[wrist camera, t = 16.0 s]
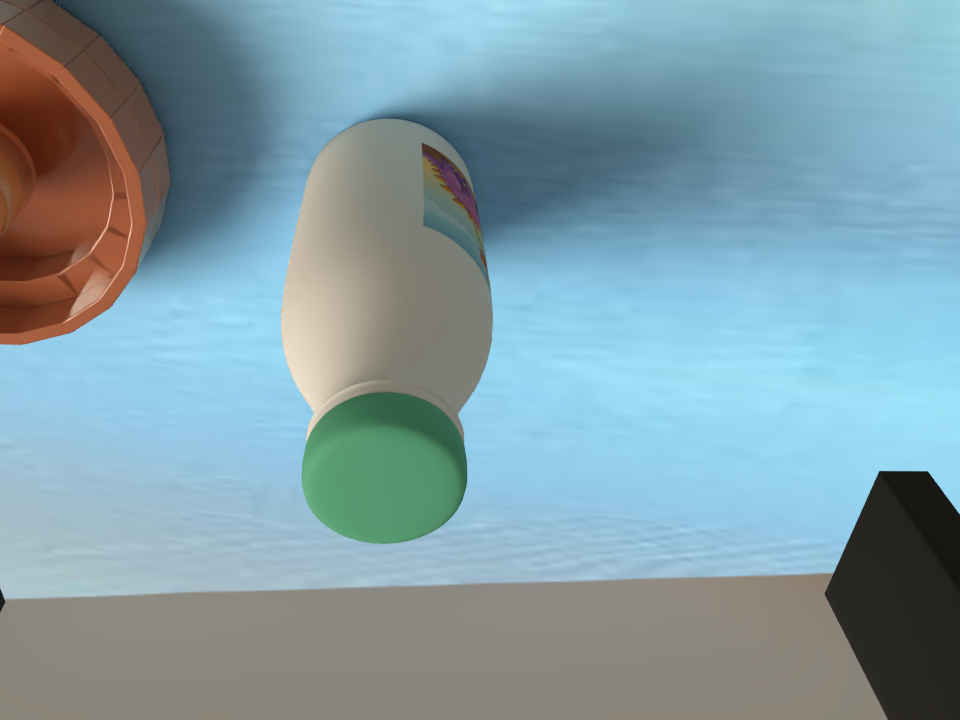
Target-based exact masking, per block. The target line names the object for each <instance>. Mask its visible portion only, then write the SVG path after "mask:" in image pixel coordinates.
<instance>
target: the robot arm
mask: <svg viewBox="0 0 960 720" xmlns="http://www.w3.org/2000/svg"><path fill="white" fill-rule="evenodd" d="M825 596H826V598H827V600H828V602H829V604H830V606H831V608H832V610H833V612H834V613H835V616H836V617H837V620H838V622H839V623H840V625H841V627H842V629H843V631H844V633H845V635H846V637H847V639H848V641H849V643H850V645H851V647H852V649H853V651H854V653H855V655H856V657H857V659H858V661H859V663H860V665H861V667H862V669H863V671H864V673H865V674H866V677H867V679H868V681H869V683H870V685H871V687H872V689H873V691H874V693H875V695H876V697H877V699H878V701H879V702H880V704H881V707H882V709H883V710H884V712H885V714H886V716H887V718H888V720H960V514H959V513H958V512H957V510H956V509H955V508H954V506H953V505H952V503H951V502H950V501H949V499H948V498H947V497H946V495H945V494H944V493H943V491H942V490H941V489H940V487H939V486H938V485H937V483H936V482H935V481H934V479H933V478H932V476H931V475H930V474H929V472H928V471H879V473H878V476H877V478H876V480H875V482H874V484H873V487H872V489H871V491H870V493H869V496H868V498H867V500H866V502H865V505H864V507H863V509H862V511H861V514H860V516H859V518H858V520H857V523H856V525H855V527H854V529H853V532H852V534H851V536H850V538H849V541H848V543H847V545H846V547H845V549H844V552H843V554H842V556H841V558H840V561H839V563H838V565H837V567H836V570H835V572H834V574H833V576H832V579H831V581H830V583H829V585H828V588H827V590H826V592H825ZM4 604H5V600H4V597H3V594H2V592H1V589H0V612H1V610H2V608H3V606H4Z"/></svg>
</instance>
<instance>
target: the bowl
mask: <svg viewBox="0 0 960 720" xmlns="http://www.w3.org/2000/svg"><path fill="white" fill-rule="evenodd" d="M0 122H1V123H2V124H4V125H5V126H7V127H9V128H10V129H12V130H13V131H14V132H15V133H16V134H17V135H18V136H19V137H20V138H21V139H22V141H23V142H24V143H25V145H26V146H27V148H28V150H29V151H30V153H31V155H32V158H33V160H34V163H35V168H36V186H35V190H34V193H33V196H32V198H31V200H30V202H29V203H28V205H27V207H26V208H25V209H24V210H23V211H22V212H21V214H20V215H19V216H18V217H17V218H16V219H15V220H14V222H13V223H12V224H11V225H10V226H9V227H8V229H7V230H6V231H5V232H4V233H3V234H2V236H1V237H0V344H10V345H23V344H28V343H32V342H36V341H40V340H44V339H48V338H52V337H56V336H60V335H64V334H68V333H71V332H74V331H75V330H77V329H78V328H80V327H81V326H83V325H84V324H86V323H88V322H89V321H91V320H92V319H94V318H95V317H97V316H99V315H100V314H102V313H103V312H105V311H106V310H108V309H109V308H110V307H111V306H112V305H113V304H114V303H115V301H116V300H117V298H118V297H119V296H120V294H121V293H122V291H123V290H124V289H125V287H126V286H127V284H128V283H129V282H130V280H131V279H132V277H133V276H134V274H135V273H136V271H137V270H138V268H139V266H140V264H141V262H142V260H143V258H144V256H145V254H146V253H147V251H148V248H149V247H150V245H151V243H152V241H153V239H154V237H155V235H156V234H157V232H158V230H159V228H160V225H161V223H162V219H163V214H164V210H165V206H166V201H167V197H168V193H169V188H170V181H171V180H170V172H169V164H168V156H167V149H166V141H165V135H164V134H163V133H164V132H163V129H162V127H161V125H160V123H159V121H158V119H157V117H156V114H155V112H154V110H153V108H152V106H151V104H150V102H149V99H148V97H147V95H146V93H145V91H144V89H143V87H142V85H141V84H140V81H139V79H138V78H137V77H136V76H135V75H134V74H133V72H132V71H131V70H130V69H129V68H128V67H127V65H126V64H125V63H124V62H123V61H122V59H121V58H120V57H119V56H118V55H117V54H116V52H115V51H114V50H113V49H112V48H111V47H110V45H109V44H108V43H107V42H106V41H105V40H104V38H103V37H102V36H101V35H100V36H99V34H98V33H97V32H95V31H94V30H92V29H91V28H89V27H88V26H87V25H85V24H84V23H82V22H81V21H80V20H78V19H77V18H75V17H74V16H72V15H71V14H70V13H68V12H67V11H65V10H64V9H62V8H61V7H60V6H58V5H57V4H55V3H54V2H53V1H51V0H0Z"/></svg>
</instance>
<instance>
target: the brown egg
mask: <svg viewBox="0 0 960 720" xmlns="http://www.w3.org/2000/svg"><path fill="white" fill-rule="evenodd" d="M35 186H36V168H35V163H34V160H33V158H32V155H31V153H30V151H29V150H28V148H27V146H26V145H25V143H24V142H23V141H22V139H21V138H20V137H19V136H18V135H17V134H16V133H15V132H14V131H13V130H12V129H10V128H9V127H7V126H5V125H4V124H2V123H1V122H0V237H1V236H2V234H3V233H4V232H5V231H6V230H7V229H8V227H9V226H10V225H11V224H12V223H13V222H14V220H15V219H16V218H17V217H18V216H19V215H20V214H21V212H22V211H23V210H24V209H25V208H26V207H27V205H28V203H29V202H30V200H31V198H32V196H33V193H34V190H35Z"/></svg>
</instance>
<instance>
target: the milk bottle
mask: <svg viewBox="0 0 960 720" xmlns="http://www.w3.org/2000/svg"><path fill="white" fill-rule="evenodd" d="M492 326H493V311H492V300H491V290H490V282H489V276H488V270H487V263H486V257H485V251H484V245H483V239H482V233H481V228H480V222H479V216H478V211H477V205H476V200H475V195H474V190H473V186H472V182H471V179H470V175H469V172H468V170H467V167H466V165H465V163H464V161H463V160H462V158H461V157H460V155H459V154H458V152H457V151H456V150H455V149H454V147H453V146H452V145H451V144H450V143H449V142H448V141H446V140H445V139H444V138H443V137H442V136H440V135H439V134H437V133H436V132H434V131H432V130H430V129H429V128H427V127H424V126H422V125H420V124H417V123H414V122H410V121H406V120H400V119H375V120H370V121H366V122H362V123H359V124H356V125H354V126H351V127H349V128H347V129H345V130H344V131H342V132H341V133H339V134H338V135H336V136H335V137H334V138H333V139H331V140H330V141H329V142H328V143H327V144H326V145H325V146H324V148H323V149H322V150H321V151H320V153H319V154H318V156H317V158H316V159H315V161H314V163H313V165H312V168H311V171H310V173H309V176H308V180H307V183H306V187H305V191H304V196H303V200H302V204H301V208H300V213H299V217H298V222H297V226H296V231H295V235H294V240H293V245H292V250H291V255H290V259H289V264H288V269H287V274H286V280H285V287H284V294H283V302H282V309H281V333H282V342H283V347H284V352H285V357H286V361H287V364H288V366H289V369H290V372H291V374H292V377H293V379H294V381H295V383H296V385H297V387H298V388H299V390H300V392H301V393H302V395H303V397H304V398H305V400H306V401H307V402H308V404H309V405H310V407H311V408H312V410H313V412H314V415H313V417H312V419H311V421H310V423H309V427H308V431H307V440H306V442H307V443H306V447H305V452H304V457H303V466H302V486H303V491H304V495H305V498H306V501H307V503H308V505H309V507H310V509H311V510H312V512H313V513H314V515H315V516H316V517H317V518H318V519H319V520H320V521H321V522H322V523H323V524H324V525H326V526H327V527H328V528H330V529H332V530H333V531H335V532H337V533H339V534H341V535H343V536H345V537H348V538H351V539H354V540H358V541H362V542H368V543H379V544H388V543H399V542H405V541H409V540H413V539H416V538H419V537H422V536H424V535H427V534H429V533H431V532H433V531H434V530H436V529H438V528H439V527H441V526H442V525H443V524H445V523H446V522H447V521H448V520H449V519H450V518H451V517H452V516H453V515H454V513H455V512H456V511H457V509H458V507H459V506H460V504H461V502H462V499H463V496H464V493H465V490H466V485H467V460H466V453H465V447H464V432H463V428H462V425H461V422H460V420H459V418H458V413H459V412H460V410H461V409H462V407H463V406H464V404H465V403H466V402H467V400H468V399H469V398H470V396H471V394H472V393H473V391H474V390H475V388H476V386H477V384H478V383H479V380H480V378H481V376H482V373H483V371H484V369H485V366H486V363H487V359H488V355H489V351H490V347H491V341H492Z"/></svg>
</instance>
